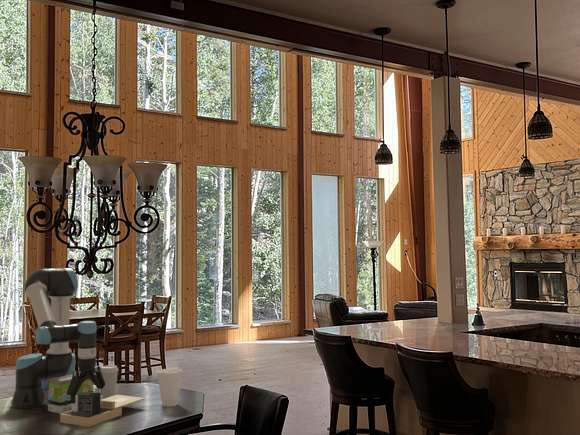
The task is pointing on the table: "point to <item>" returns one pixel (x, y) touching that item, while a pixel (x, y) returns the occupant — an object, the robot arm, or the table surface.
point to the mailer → (84, 421)
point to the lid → (118, 401)
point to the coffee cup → (109, 380)
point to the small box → (87, 404)
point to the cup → (169, 385)
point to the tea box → (62, 394)
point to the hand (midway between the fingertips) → (86, 407)
